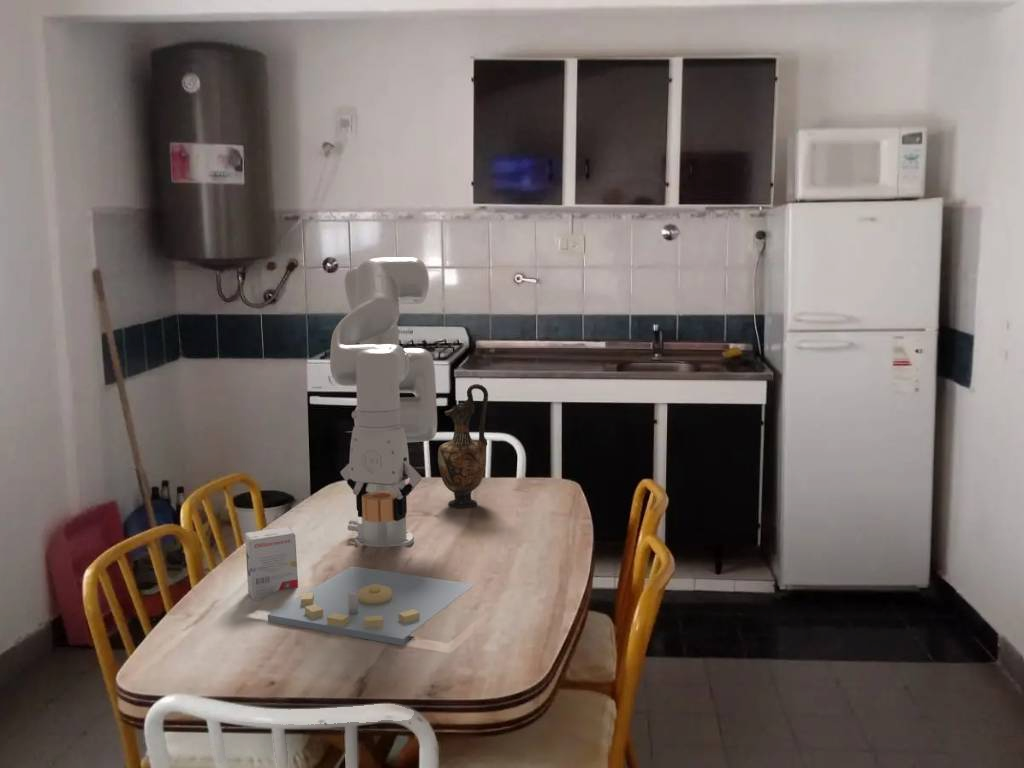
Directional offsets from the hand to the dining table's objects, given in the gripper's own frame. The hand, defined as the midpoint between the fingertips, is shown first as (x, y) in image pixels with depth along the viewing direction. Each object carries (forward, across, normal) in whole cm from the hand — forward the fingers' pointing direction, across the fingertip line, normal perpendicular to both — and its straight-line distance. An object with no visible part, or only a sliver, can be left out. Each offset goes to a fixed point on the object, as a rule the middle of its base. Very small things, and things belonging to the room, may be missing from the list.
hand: (381, 516), depth 180 cm
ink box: (+16, -22, -3) cm, 28 cm away
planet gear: (0, 0, 0) cm, 0 cm away
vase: (+15, -14, +64) cm, 67 cm away
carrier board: (+16, -1, -1) cm, 16 cm away
